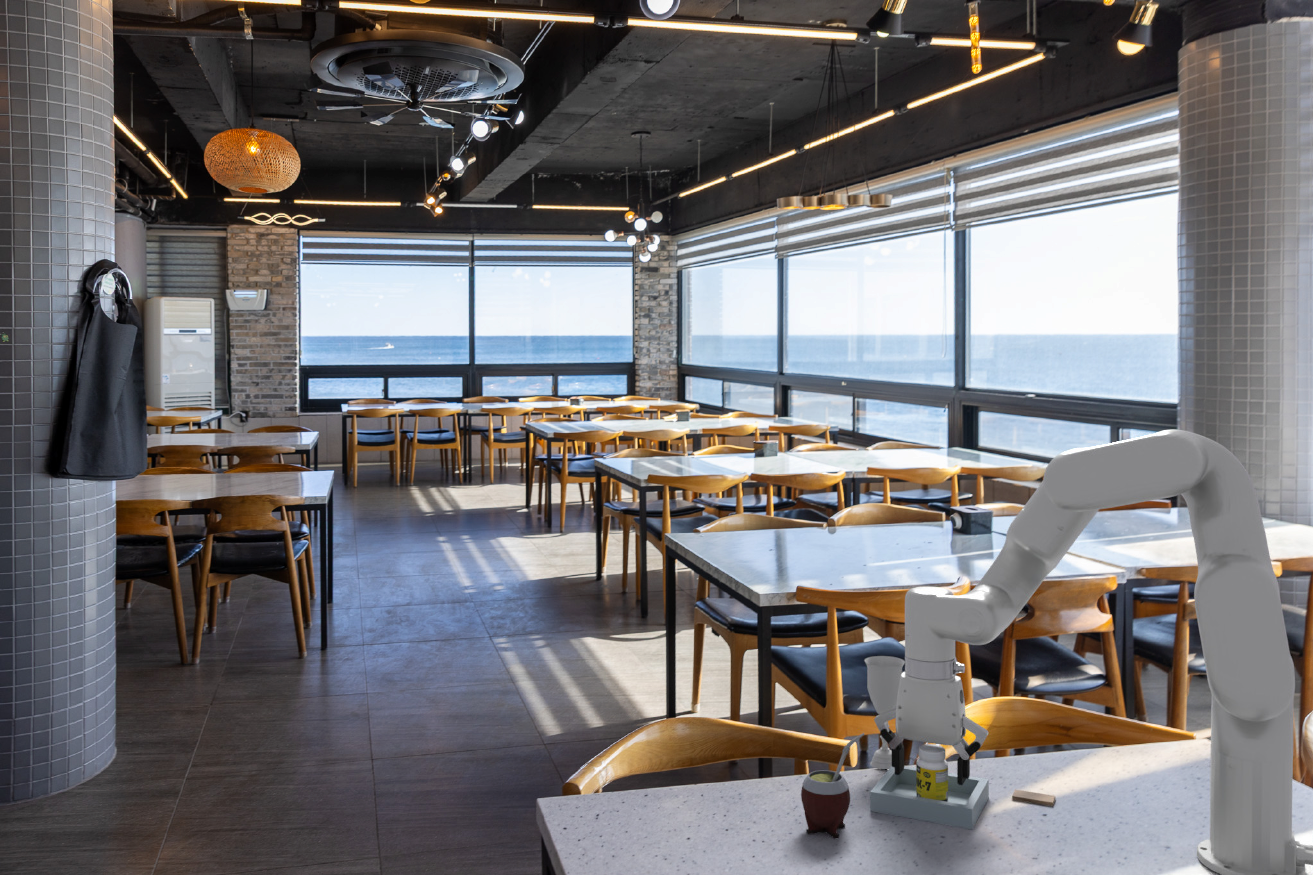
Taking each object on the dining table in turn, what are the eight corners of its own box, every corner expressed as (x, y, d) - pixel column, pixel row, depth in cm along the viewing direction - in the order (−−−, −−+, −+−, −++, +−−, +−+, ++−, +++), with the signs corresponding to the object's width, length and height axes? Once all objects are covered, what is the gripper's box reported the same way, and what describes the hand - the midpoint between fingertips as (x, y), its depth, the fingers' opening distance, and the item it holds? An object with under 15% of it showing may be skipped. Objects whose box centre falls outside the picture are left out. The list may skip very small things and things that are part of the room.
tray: (988, 797, 162) (988, 779, 162) (972, 829, 151) (972, 809, 150) (893, 782, 169) (893, 764, 169) (870, 810, 158) (870, 791, 158)
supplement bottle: (910, 798, 161) (909, 745, 161) (934, 793, 163) (933, 741, 163) (930, 809, 157) (930, 755, 156) (954, 804, 159) (954, 750, 158)
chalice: (906, 773, 173) (905, 667, 173) (864, 770, 175) (864, 665, 174) (904, 758, 180) (904, 656, 180) (864, 756, 182) (864, 655, 181)
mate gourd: (793, 824, 153) (792, 725, 153) (839, 816, 156) (838, 718, 155) (818, 844, 146) (817, 740, 146) (866, 835, 149) (865, 733, 148)
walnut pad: (1055, 799, 161) (1055, 795, 161) (1052, 806, 159) (1052, 802, 159) (1015, 793, 164) (1015, 789, 164) (1012, 799, 161) (1012, 795, 161)
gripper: (992, 668, 158) (992, 778, 159) (881, 656, 167) (881, 760, 167) (983, 680, 152) (983, 794, 152) (868, 667, 160) (868, 776, 161)
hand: (930, 777), depth 160 cm, fingers open, 9 cm apart
